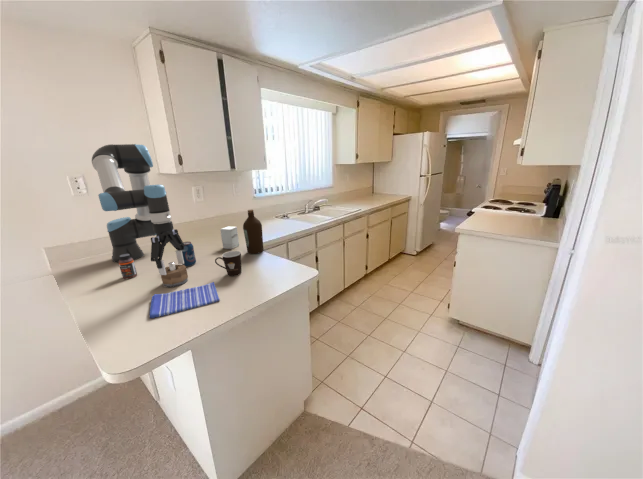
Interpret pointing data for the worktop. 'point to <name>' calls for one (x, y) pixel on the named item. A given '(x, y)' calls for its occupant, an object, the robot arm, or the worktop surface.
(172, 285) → the silver peg stand
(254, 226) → the olive oil
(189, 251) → the soda can
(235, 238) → the supplement box
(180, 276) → the walnut ring
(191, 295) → the dish towel
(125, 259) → the supplement bottle
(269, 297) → the worktop surface
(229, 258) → the coffee mug
